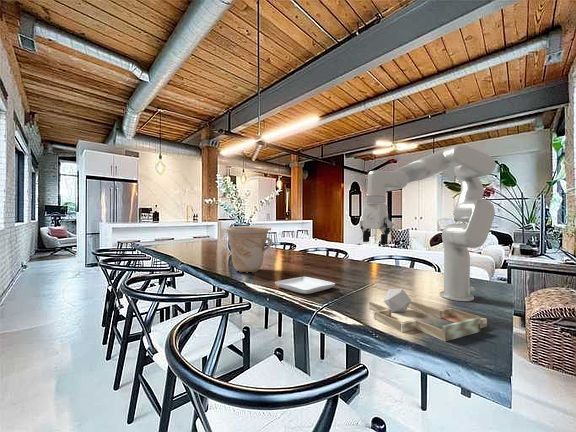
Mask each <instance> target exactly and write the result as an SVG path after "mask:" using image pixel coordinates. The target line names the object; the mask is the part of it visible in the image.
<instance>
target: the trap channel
mask: <svg viewBox="0 0 576 432" xmlns="http://www.w3.org/2000/svg"><path fill="white" fill-rule="evenodd" d="M408 308H409V309H411V310H413V311H414V310H415V311H418V312H421V313H422V314H425V315H430V316H432V317H434V318H437V319H442V320H446V321H449V322H451V323H448V324H444V325H441V328H440V327H437V326H433V325H432V324H430V323H429V324H428V323H426V322H425V321H421V320H419V319H410V320H407V321H401V320H398V319H395V318H393V317H392V312H391V309H389V308H387V307H385V306H383V305H380V304H378V303H375V302H372V301H368V310H370V309H371V311H373V320H374V319H375V321H376V320H377V322H379V323H381V324H383V325H386V326H387V327H388V328H392V329H394V330H396V331H398V332H400V333H406V332H409V331H414V330H418V331H420V332H422V333H425V334H427V335H429V336H431V337H434V338H436V339H438V340H440V341H444V342H448V341H453V340H455V339H460V338H462V337H466V336H470V335H473V334H477V333H480V332H481V329H483V328H487V325H488V319H487V318H486V317H482V316H479V315H476V314H472V313H469V312H466V311H463V310H460V309H456V308H453V307H447V308H442V309H438V308H434V307H431V306H428V305H425V304H421V303H419V302H418V301H415V300H414V301H413V300H411V301H410V304H409V306H408Z"/></svg>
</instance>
